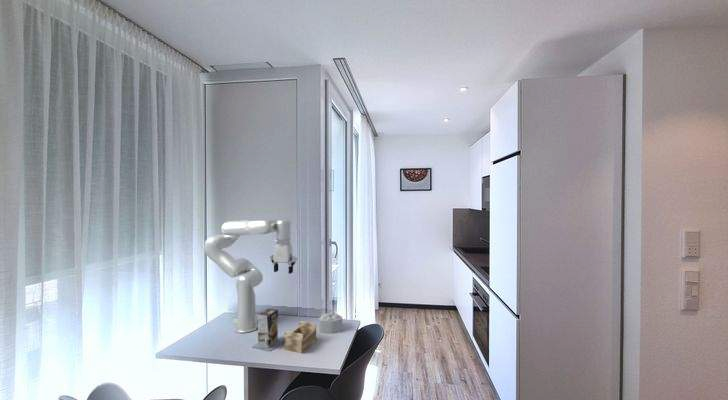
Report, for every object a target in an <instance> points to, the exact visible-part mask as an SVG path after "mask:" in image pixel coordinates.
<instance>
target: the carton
mask: <svg viewBox="0 0 728 400" xmlns="http://www.w3.org/2000/svg"><path fill="white" fill-rule="evenodd" d="M316 342H317V323H311V322H307V321H306V322H305V321H300V320H299V321H298V327H297V328H296V329H295V330H293V331H288V330H284V350H285V351H289V352H294V353H299V354H304V353H305V352H307V351H308V349H309V348H311V347H312V346H313V345H314V344H315V343H316Z"/></svg>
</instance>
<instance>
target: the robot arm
mask: <svg viewBox="0 0 728 400" xmlns="http://www.w3.org/2000/svg"><path fill="white" fill-rule="evenodd" d="M220 230H221V232H222V234H217V235H215V234H214V235H212V236H210V237H208V238H207V239H206V240H205V242H204V248H203V249H204V252H205V254H206V256H207V257H208V259H210V260H211V261H212V262H213V263H215V264H216V265H217V266H218V267H219V268H220V270H222V271H223V273H225V274H226V275H227V276H229V277H230V278H236V277H238V278H237V279H236V281H235V286H236V293H237V318H235V319H233V322H232V324H235V327H234V331H235V333H239V334H246V333H252V332H254V331H256V330H258V322H256V293H255V291H254V288H256V287H257V286H259V285H261V283H262V282H263V279H264V276H263V275H264V274H263V273H262V271H260V269H258V268H257V267H256V266H255V264H253V263H252V261H250V260H248V259H246V258H241V257H240V258H238V259H237V258H234V257H233V256H232V255H231V254H230V253H228V252H227V251H225V250H223V249H227V248H230V247H232V245H233V244H235V242H236V241H237V240H238V239H239V238H240V237H241V236H245V235H246V236H249V235H267V234H271V233H276V239H274V242H276V243H275V245H274V249H273V255H272V254H271V255H270V256H269V258H270V261H271V264H272V265H273V272H274V273H277V272H279V263H280V264H281V263H282V264H288V274H292V273H294V272H293V271H294V266H295V264H296V263H297V261H298V258H297V257H296V256H294V255H293V246H292V244H291V221H290V220H289V219H275V218H271V219H263V220H262V219H261V220H250V219H243V220H242V219H241V220H237V219H236V220H228V221H225V222H224V223H223V224H222V225H221V229H220Z"/></svg>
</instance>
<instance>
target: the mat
mask: <svg viewBox="0 0 728 400" xmlns="http://www.w3.org/2000/svg"><path fill="white" fill-rule="evenodd" d="M283 343H285V340H282V339H278V340H277V341H276V342H275V343H274V344H273V345H272V346H270V347H269V348H264V347H258V342H257V343H256V344H255V345H253V346H251V347H252V348H254V349H258V350H261V351H267V352H268V351H269V352H272V351H273V350H275V349H276V348H277V347H279V346H281V344H283Z"/></svg>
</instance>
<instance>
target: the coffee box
mask: <svg viewBox="0 0 728 400" xmlns="http://www.w3.org/2000/svg"><path fill="white" fill-rule="evenodd" d="M257 319H258V321H257V324H258V328H257V331H258V332H257V343H258V347H264V348H269V347H270V346H272V345H273V344H274V343H275V342H276V341H277V340H279V309H273V308H267V309H265V310H264V311H262V312H261V313H259V314H258V316H257Z"/></svg>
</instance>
